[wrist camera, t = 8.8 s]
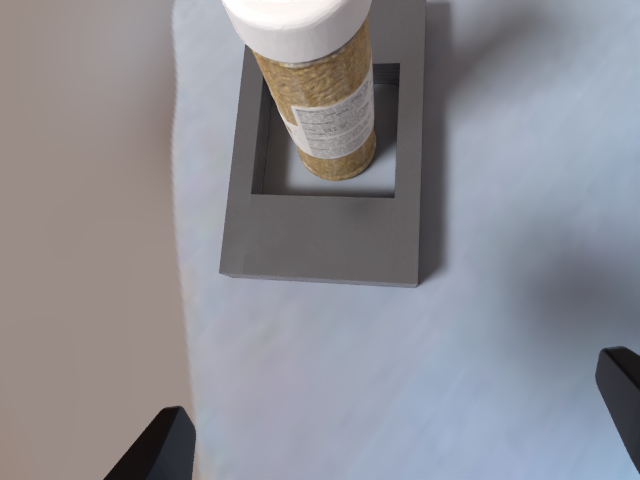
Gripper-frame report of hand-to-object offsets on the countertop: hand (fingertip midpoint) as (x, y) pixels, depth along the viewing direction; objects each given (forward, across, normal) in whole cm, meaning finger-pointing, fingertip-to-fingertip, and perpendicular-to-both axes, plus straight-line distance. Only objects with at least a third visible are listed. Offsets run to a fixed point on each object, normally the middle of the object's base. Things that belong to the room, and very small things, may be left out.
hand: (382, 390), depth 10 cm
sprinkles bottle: (+18, +1, +1) cm, 18 cm away
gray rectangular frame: (+18, +1, +1) cm, 18 cm away
